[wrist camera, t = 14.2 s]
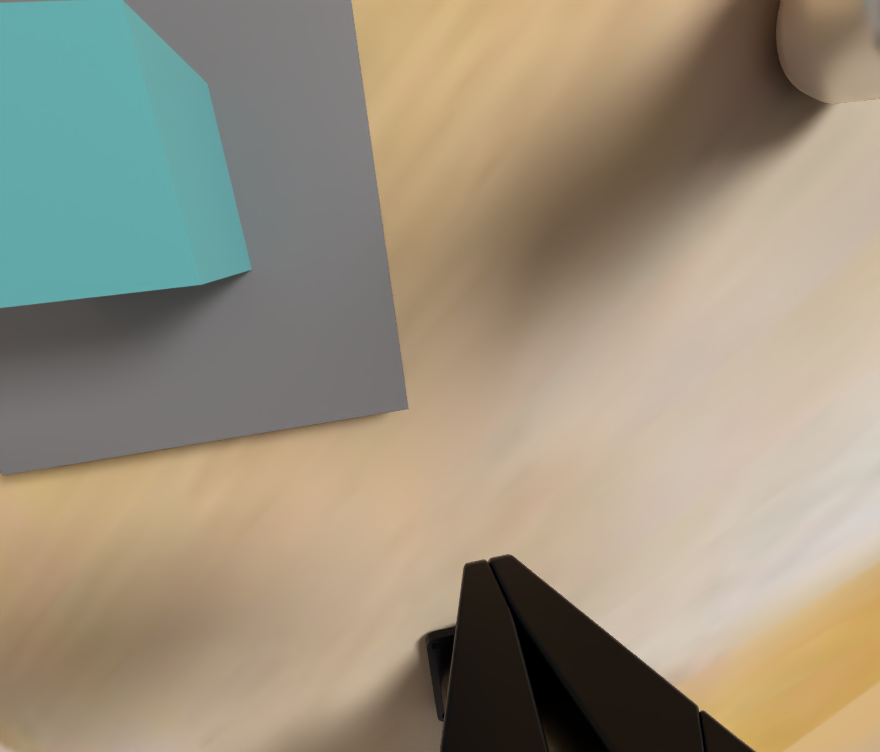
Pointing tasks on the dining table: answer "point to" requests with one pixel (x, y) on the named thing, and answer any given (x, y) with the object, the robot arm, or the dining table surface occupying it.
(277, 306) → the base plate
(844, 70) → the plastic bottle
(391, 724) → the dining table surface
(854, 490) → the dining table surface
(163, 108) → the turquoise cube
